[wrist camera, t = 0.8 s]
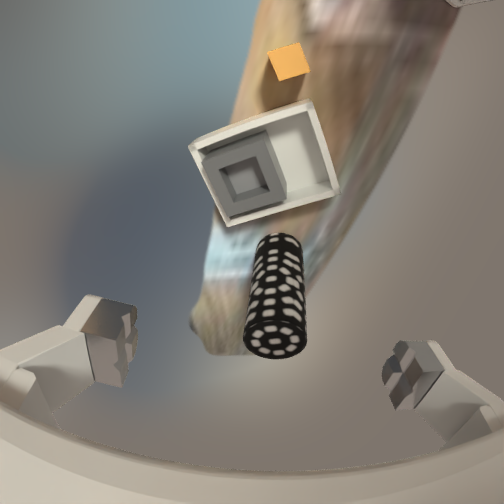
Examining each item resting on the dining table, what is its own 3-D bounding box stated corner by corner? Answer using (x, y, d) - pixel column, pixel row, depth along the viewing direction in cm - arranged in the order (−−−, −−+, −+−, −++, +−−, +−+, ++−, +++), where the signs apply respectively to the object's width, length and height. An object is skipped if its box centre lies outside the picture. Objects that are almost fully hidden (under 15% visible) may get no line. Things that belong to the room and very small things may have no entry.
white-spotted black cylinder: (298, 229, 51) (302, 316, 35) (306, 267, 56) (310, 355, 39) (251, 237, 53) (235, 323, 37) (262, 273, 57) (252, 361, 41)
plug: (296, 46, 34) (298, 42, 28) (306, 71, 36) (310, 71, 30) (269, 54, 35) (266, 52, 30) (279, 79, 37) (279, 81, 32)
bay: (309, 98, 38) (313, 103, 33) (336, 182, 45) (343, 200, 40) (196, 138, 44) (183, 150, 38) (231, 213, 51) (225, 234, 45)
